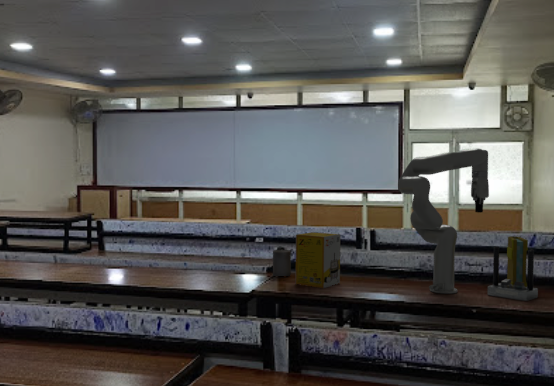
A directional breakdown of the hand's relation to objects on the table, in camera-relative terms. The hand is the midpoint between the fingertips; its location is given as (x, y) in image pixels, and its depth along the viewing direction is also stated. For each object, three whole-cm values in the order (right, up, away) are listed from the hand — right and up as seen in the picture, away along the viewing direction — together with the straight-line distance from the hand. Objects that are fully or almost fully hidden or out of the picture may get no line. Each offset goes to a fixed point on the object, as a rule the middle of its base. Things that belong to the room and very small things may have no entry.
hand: (479, 212), depth 290 cm
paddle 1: (+7, -33, -17) cm, 37 cm away
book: (+17, -38, -3) cm, 41 cm away
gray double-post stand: (+9, -38, -19) cm, 43 cm away
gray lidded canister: (-97, -36, +30) cm, 107 cm away
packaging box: (-79, -37, +7) cm, 87 cm away
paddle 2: (+11, -33, -22) cm, 41 cm away
